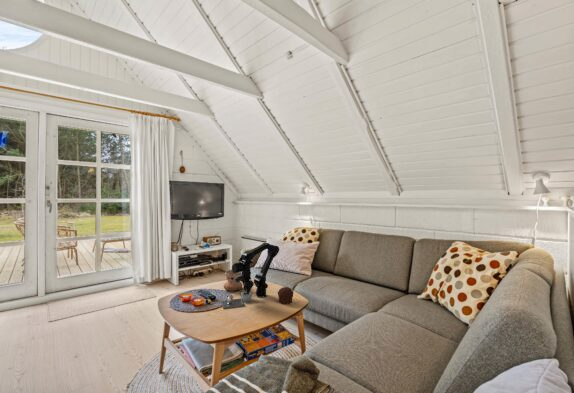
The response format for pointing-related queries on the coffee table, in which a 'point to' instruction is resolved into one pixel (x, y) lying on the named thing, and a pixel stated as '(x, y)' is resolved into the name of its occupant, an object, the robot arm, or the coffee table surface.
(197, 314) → the coffee table surface
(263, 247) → the robot arm
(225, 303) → the flange plate
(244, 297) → the collar
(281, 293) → the muffin
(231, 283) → the ceramic jug
